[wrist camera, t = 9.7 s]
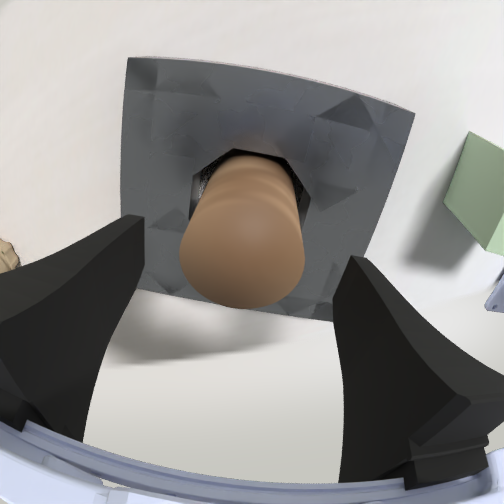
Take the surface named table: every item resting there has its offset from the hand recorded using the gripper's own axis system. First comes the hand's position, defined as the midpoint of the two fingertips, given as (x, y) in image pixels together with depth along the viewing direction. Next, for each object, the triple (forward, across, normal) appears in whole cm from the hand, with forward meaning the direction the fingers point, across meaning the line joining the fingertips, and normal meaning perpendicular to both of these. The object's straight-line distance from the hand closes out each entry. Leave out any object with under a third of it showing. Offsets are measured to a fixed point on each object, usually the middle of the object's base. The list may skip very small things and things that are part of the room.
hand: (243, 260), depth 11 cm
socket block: (+6, 0, 0) cm, 6 cm away
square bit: (+6, -13, -4) cm, 15 cm away
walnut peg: (+6, 0, 0) cm, 6 cm away
